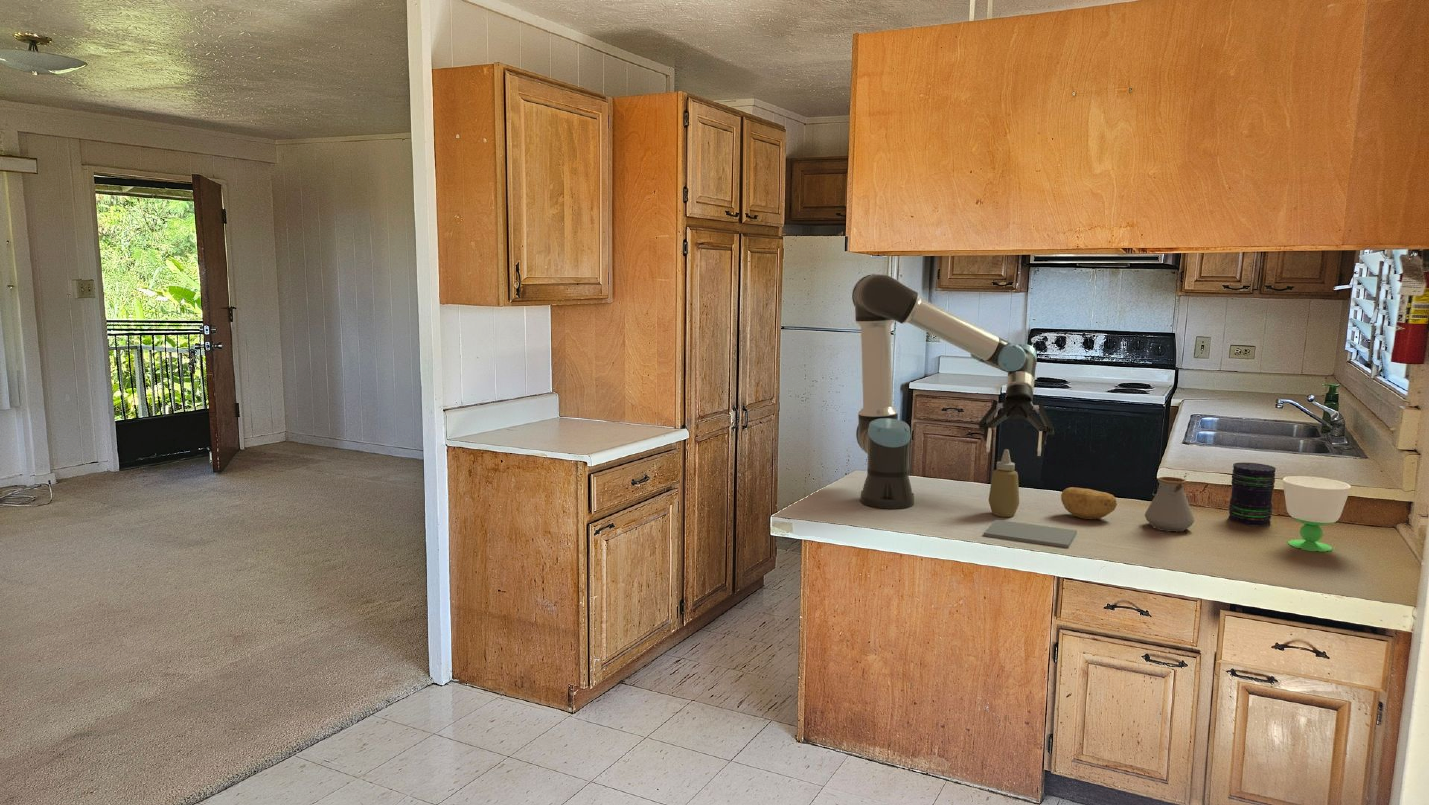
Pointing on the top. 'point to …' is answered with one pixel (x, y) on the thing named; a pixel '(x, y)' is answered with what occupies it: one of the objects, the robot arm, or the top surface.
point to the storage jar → (1252, 494)
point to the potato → (1088, 502)
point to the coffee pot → (1170, 506)
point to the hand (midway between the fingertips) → (1013, 451)
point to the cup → (1314, 507)
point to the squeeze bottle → (1004, 488)
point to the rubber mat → (1031, 533)
